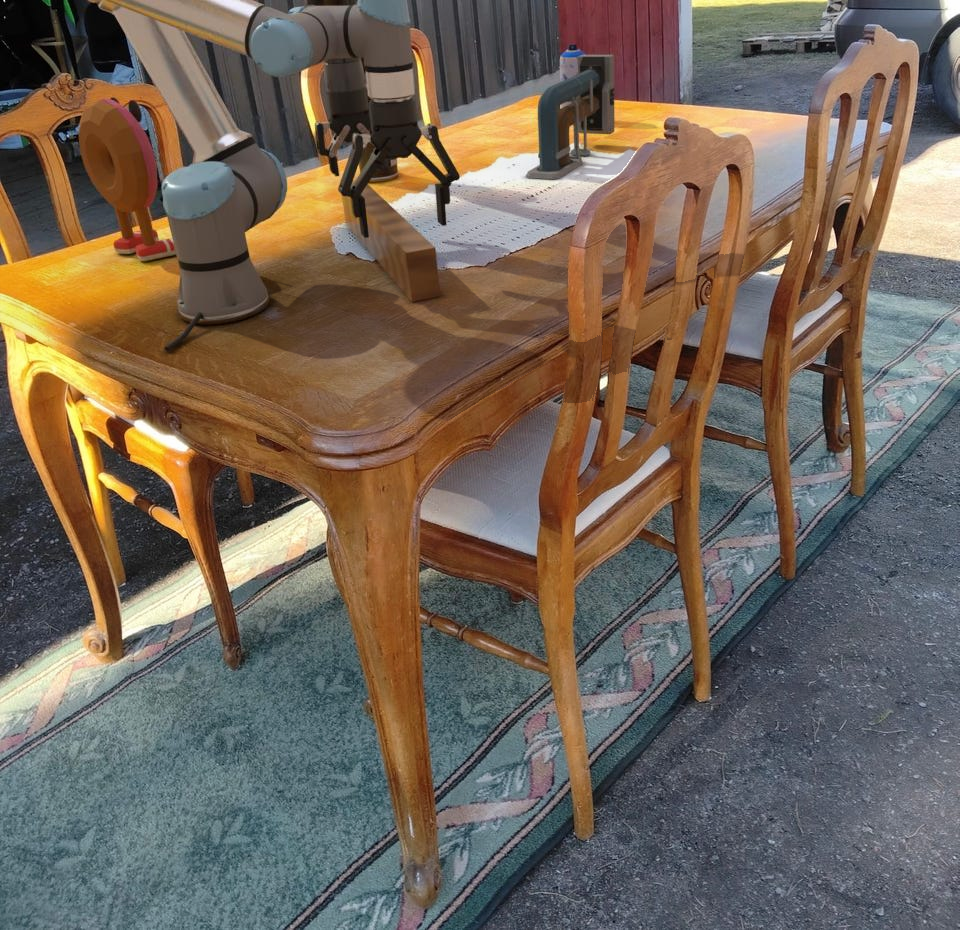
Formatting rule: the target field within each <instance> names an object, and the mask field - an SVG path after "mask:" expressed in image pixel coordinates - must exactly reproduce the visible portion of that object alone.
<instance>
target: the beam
mask: <svg viewBox="0 0 960 930" xmlns="http://www.w3.org/2000/svg"><path fill="white" fill-rule="evenodd" d="M355 181H356V180H355ZM355 181H354V180H353V182H352V185H353V184H354V182H355ZM352 185H351V187H352ZM361 195H362V196H363V197H364V198H365V206H366V215H367V224H368V233H369V237H367V238H364V237H363V235H362V234H361V230H360V221H359V217H358V218H356V217H355V216H354V215H353V213H352V205H351V198H350V197H348V196H343V195H342V194H341V200H342V207H343V212H344V220H345V225H346V226H347V228H349V230H350V231H351V232H352V233H353V234H354V236H355V237H356V238H357V239H358V240H359V242H360V243H361V244H362V245H363V246H364V248H365V249H366V250H367V251H368V252H369V253H370V254H371V256H372V257H373V258H374V259H375V260H376V262H377V263H378V264H379V265H380V266H381V267H382V269H383V270H384V271H385V272H386V273H387V274H388V276H389V277H390V278H391V279H392V280H393V282H394V283H395V284H396V285H397V286H398V288H399V289H400V290H401V291H402V292H403V294H404V295H405V296H406V297H407V298H408V300H409V301H410V302H411V303H415V302H421V301H425V300H429V299H435V298H440V297H441V290H440V281H439V280H440V279H439V270H438V259H437V251H436V247H435V245H433V243H431V242H430V241H429V240H428V239H427V238H426V237H425V236H423V234H421V232H419V231H418V229H416V228H415V227H414V226H413V225H412V224H411V223H410V222H409V221H408V220H407V219H406V218H405V217H403V216H402V214H400V213H399V212H398V211H397V210H396V209H395V208H394V207H393V206H392V205H391V204H390V203H389V202H388V201H387V200H386V199H384V198H383V197H382V196H381V195H380V194H379V193H378V192H377V191H376V190H375V189H374V188H373V187H372V186H370V184H369V183H368V184H367V186H366V187H365V189H364V190H363V192H362V194H361Z"/></svg>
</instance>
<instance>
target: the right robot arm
mask: <svg viewBox="0 0 960 930" xmlns="http://www.w3.org/2000/svg"><path fill="white" fill-rule="evenodd" d="M357 2H358V0H304V3H305V6H308V5H315V6H350V5H357ZM323 76H324V85H325V90H326V91H325V92H326V98H327V105H328V111H329V120H328V121H324V122H323V121H322V122H321V121H315V122H314V132H315V133H314V135H315V143H316V151H317V153H318V154H319V155H320V156H321V157H323V156H324V157H327V159H328V160H327V161H328V166H329V171H330V173H331V174H332V175H334V177H340V170H339V162H338V157H337V156H336V155H337V153H338V151H339V149H340V148H341V147H342V146H343V143H346V144H348V143H352V135H353V133H358V134H370V132H371V122H370V112H369V102H370V100H372V99H371V98H370V97H369V96H368V92H367V81H366V70H365V64H364V58H335V59H329V60H326V61H324V62H323ZM329 129H330V130H331V131H332V132H333V133H334V134H333V136H332V138H331V140H330V143H329V145H328V147H326V141H325V140H326V139H325V135H327V133H328V130H329ZM374 149H375V147H374V146H373V144H372V143H371V142H368V143H367V146H366V148H364V149H363V152H362V156H361V159H360V162H359V164H358V168H359V174H360V173H361V171H362V170H363V168H364V167H365V165H366V163H367V162H368V160H369V159H370V156H371V154H372V152H373V151H374ZM399 175H400V173H399V170H398V158H397V159H394V160H389V159H386V158H385V159H384V161H383V162H382V164H380V165H379V167H378V168H377V170H376V172H375V173H374V175H373V176H372V178H371V179H370V181H369V183H382V182H389V181H392V180H395V179H397V178H399Z"/></svg>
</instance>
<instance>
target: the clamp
mask: <svg viewBox="0 0 960 930" xmlns="http://www.w3.org/2000/svg"><path fill="white" fill-rule="evenodd" d="M577 58H578V74H577V75H575V76H573V77H570V78H568V79H566V80H564V81H562V82H560V81H559V82H558V83H555V84H553V85H551V86H549V87H547V88H546V90H545V91H544V92H543V93H542V94H541V96H540V98H539V100H538V103H537V130H538V131H537V132H538V133H537V134H538V154H537V157H538V159H539V164H538V165H536V166H535V167H533V168H531V169H530V170H528V171H527V172H526V174H525V177H526V178H530V179H545V180H557V179H561V178H562V177H563V176H565V175H566V174H569V173H570V172H571V171H573V170H574V169H575V170H576V169H577V168H578V167H580V166H581V165H583V164H585V163H584V161H583V158H582V156H589V155H590V154H591V153H592V152H591V150H590V149H589V148H588V147H587V146H588V143H587V140H588V139H587V136H588V135H590V134H592V135H611V134H613V133H615V55H614V54H585V55H580V56H578V57H577ZM571 101H572V102H573V103H571V104H569V105H567V106H565V107H563V108H561V104H563V103H565V102H571ZM571 127H573V149H571V146H570V145H571V144H570V128H571ZM580 134H583V148H580Z"/></svg>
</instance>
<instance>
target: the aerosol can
mask: <svg viewBox="0 0 960 930" xmlns="http://www.w3.org/2000/svg"><path fill="white" fill-rule="evenodd" d="M580 55H586V54H585V52H584V51H583V50H581V49H579V48H578V44H577V43H574V44H568V48H567V49H566V50H565V51H563V52H562V53H561V55H560V56H559V79H560V81H559V82H562V81H564V80H566V79H568V78H570V77H573V76H575V75H577V74H578V58H577V57H578V56H580ZM571 103H573V102H572V101H571V102H565V103H563V104H561V105H560V109H561V108H563V107H565V106H567V105H569V104H571Z"/></svg>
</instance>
